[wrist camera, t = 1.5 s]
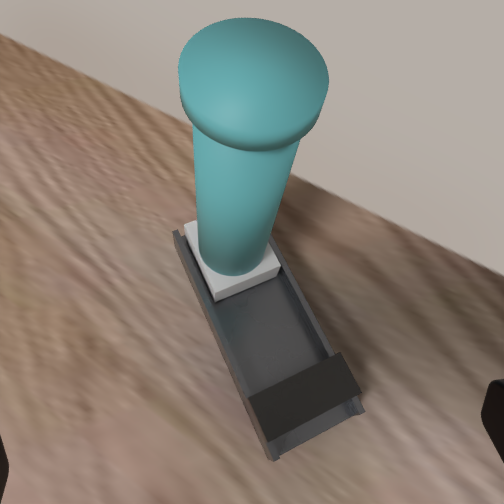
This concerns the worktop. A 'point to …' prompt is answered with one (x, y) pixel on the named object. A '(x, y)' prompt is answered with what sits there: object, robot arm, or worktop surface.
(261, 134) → the teal tall cylinder
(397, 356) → the worktop surface
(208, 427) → the worktop surface
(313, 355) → the track
